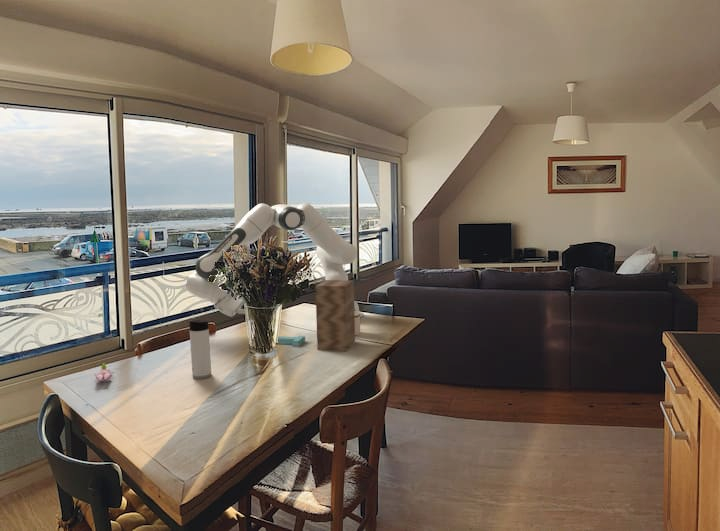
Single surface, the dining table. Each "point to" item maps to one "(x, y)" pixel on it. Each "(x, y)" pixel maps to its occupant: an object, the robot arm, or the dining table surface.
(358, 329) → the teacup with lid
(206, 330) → the travel mug
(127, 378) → the dining table surface
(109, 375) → the pink flower
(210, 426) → the dining table surface
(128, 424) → the dining table surface
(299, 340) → the t bar
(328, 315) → the stand
